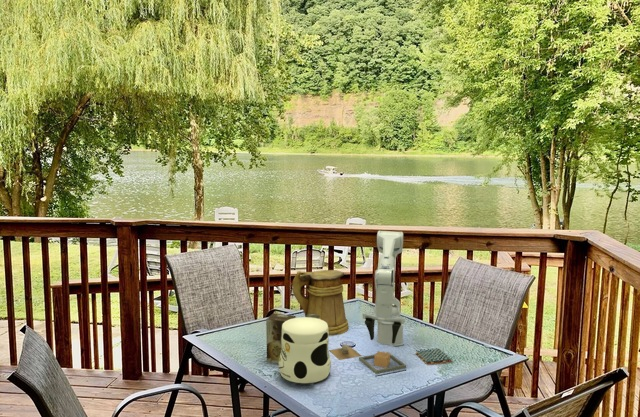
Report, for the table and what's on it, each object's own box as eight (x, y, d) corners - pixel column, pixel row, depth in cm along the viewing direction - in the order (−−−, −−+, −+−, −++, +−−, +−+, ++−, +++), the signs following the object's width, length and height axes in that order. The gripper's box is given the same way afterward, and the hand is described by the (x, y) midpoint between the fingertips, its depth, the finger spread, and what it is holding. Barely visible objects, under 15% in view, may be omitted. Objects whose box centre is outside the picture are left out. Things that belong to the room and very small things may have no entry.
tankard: (351, 337, 205) (352, 277, 202) (292, 338, 203) (292, 277, 200) (345, 321, 223) (346, 265, 219) (291, 322, 221) (292, 266, 218)
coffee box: (296, 358, 184) (296, 315, 182) (289, 366, 178) (289, 321, 176) (273, 355, 187) (273, 312, 185) (265, 362, 181) (265, 318, 179)
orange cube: (390, 364, 180) (390, 353, 180) (386, 369, 176) (387, 358, 175) (377, 361, 182) (377, 351, 181) (374, 366, 178) (374, 355, 177)
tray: (387, 357, 187) (388, 352, 187) (406, 370, 176) (406, 365, 176) (358, 362, 182) (358, 357, 182) (375, 376, 171) (375, 371, 171)
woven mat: (426, 367, 180) (427, 361, 180) (414, 355, 190) (414, 349, 190) (453, 364, 183) (453, 358, 182) (439, 352, 193) (439, 347, 193)
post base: (350, 349, 193) (350, 339, 193) (361, 358, 185) (361, 348, 185) (328, 352, 190) (328, 343, 189) (339, 362, 182) (339, 352, 181)
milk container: (268, 374, 172) (268, 322, 170) (310, 361, 183) (310, 312, 180) (298, 394, 158) (298, 339, 156) (341, 379, 169) (342, 327, 167)
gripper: (360, 303, 175) (359, 341, 177) (402, 309, 170) (401, 348, 171) (366, 297, 181) (365, 334, 183) (406, 303, 176) (405, 340, 178)
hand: (382, 340), depth 178 cm, fingers open, 7 cm apart
